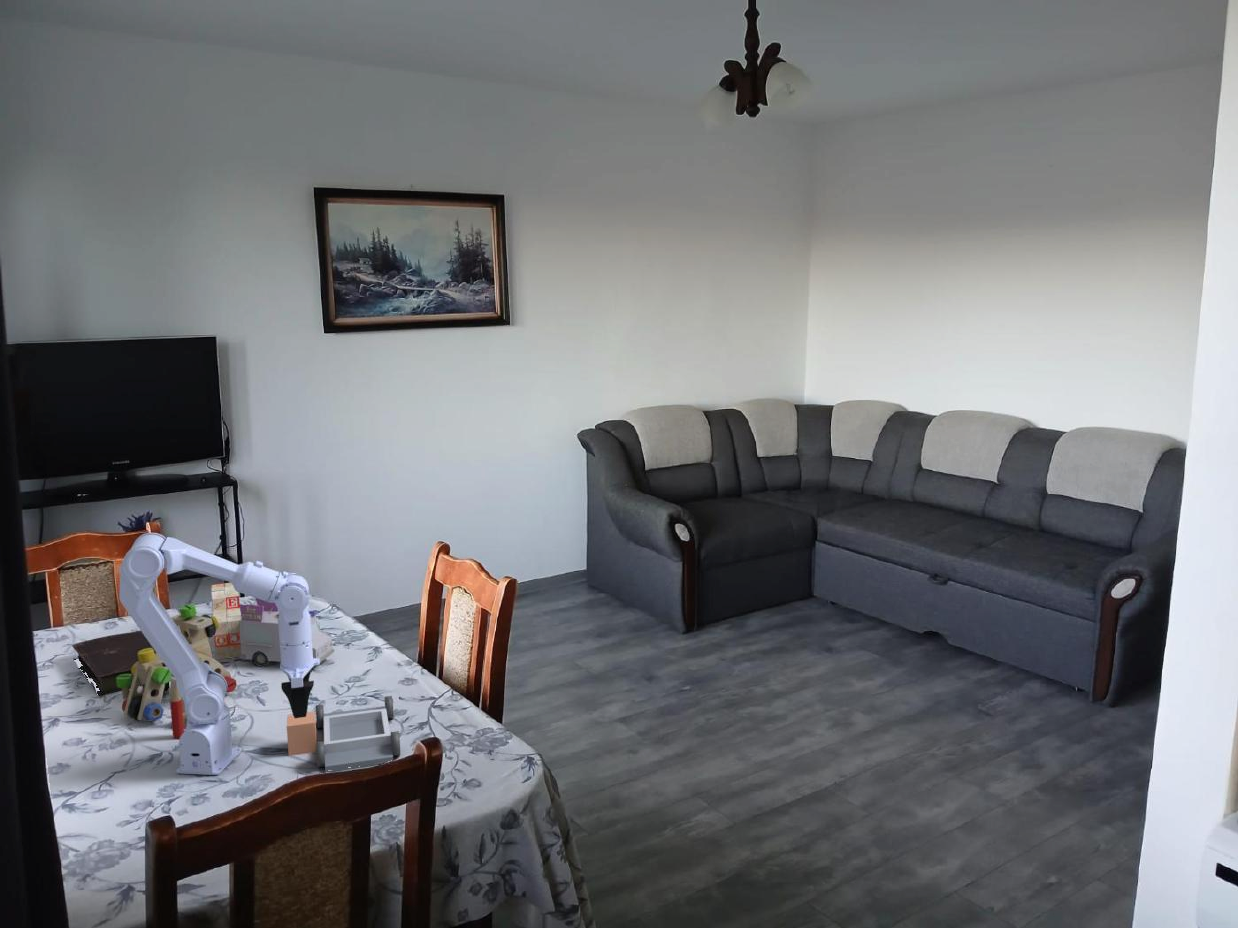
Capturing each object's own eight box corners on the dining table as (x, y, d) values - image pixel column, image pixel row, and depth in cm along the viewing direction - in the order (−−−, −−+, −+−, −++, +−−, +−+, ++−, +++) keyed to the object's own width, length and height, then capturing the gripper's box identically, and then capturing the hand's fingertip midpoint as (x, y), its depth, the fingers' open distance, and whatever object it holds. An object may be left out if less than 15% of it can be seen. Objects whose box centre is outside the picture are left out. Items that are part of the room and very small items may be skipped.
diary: (155, 645, 231) (154, 626, 230) (187, 677, 212) (185, 656, 211) (69, 663, 219) (67, 643, 218) (94, 699, 200) (92, 677, 199)
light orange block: (316, 751, 177) (314, 722, 176) (288, 755, 176) (286, 726, 175) (316, 739, 182) (314, 711, 181) (289, 743, 181) (287, 714, 180)
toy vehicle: (316, 674, 212) (312, 611, 209) (238, 666, 216) (233, 605, 213) (336, 658, 221) (332, 597, 218) (261, 651, 225) (257, 592, 222)
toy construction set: (249, 725, 188) (241, 627, 184) (123, 752, 178) (112, 649, 174) (230, 676, 211) (223, 588, 207) (118, 697, 201) (108, 605, 197)
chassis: (401, 761, 174) (400, 739, 173) (317, 773, 170) (315, 751, 169) (391, 710, 194) (391, 690, 194) (317, 720, 190) (315, 699, 189)
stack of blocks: (244, 656, 222) (240, 607, 220) (215, 660, 220) (211, 610, 217) (241, 626, 242) (237, 580, 239) (215, 629, 239) (211, 583, 237)
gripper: (318, 651, 169) (322, 721, 172) (318, 624, 183) (322, 689, 185) (276, 656, 167) (282, 727, 170) (279, 628, 181) (284, 694, 183)
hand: (300, 707), depth 178 cm, fingers open, 7 cm apart
